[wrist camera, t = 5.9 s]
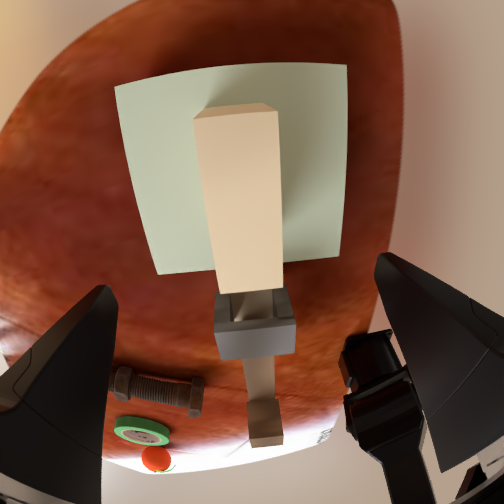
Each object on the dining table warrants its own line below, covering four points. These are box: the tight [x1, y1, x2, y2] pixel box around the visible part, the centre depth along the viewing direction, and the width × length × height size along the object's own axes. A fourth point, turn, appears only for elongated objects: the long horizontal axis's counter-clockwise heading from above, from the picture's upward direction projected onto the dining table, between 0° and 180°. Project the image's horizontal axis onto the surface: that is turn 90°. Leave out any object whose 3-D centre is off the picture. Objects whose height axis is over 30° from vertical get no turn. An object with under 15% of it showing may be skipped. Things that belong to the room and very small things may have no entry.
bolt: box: [108, 366, 204, 418], centre depth 32 cm, size 6×5×15 cm
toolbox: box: [214, 285, 296, 361], centre depth 18 cm, size 12×18×9 cm, turn 4°
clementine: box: [142, 446, 175, 472], centre depth 50 cm, size 8×7×7 cm
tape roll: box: [114, 416, 170, 446], centre depth 45 cm, size 11×11×3 cm
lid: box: [115, 62, 348, 294], centre depth 14 cm, size 12×12×6 cm
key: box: [242, 356, 284, 448], centre depth 22 cm, size 3×12×6 cm, turn 4°
